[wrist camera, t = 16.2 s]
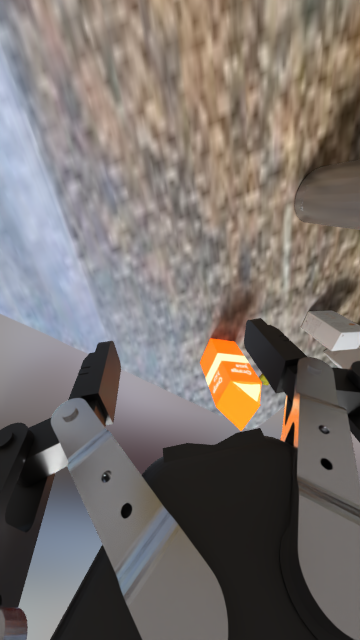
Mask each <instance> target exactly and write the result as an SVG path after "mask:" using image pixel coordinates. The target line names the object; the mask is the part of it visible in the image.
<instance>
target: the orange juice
mask: <svg viewBox="0 0 360 640" xmlns="http://www.w3.org/2000/svg"><path fill="white" fill-rule="evenodd" d="M200 364H201V366H202V369H203V372H204V375H205V377H206V381H207V384H208V386H209V388H210V391H211V394H212V397H213V399H214V402H215V405H216V407H217V408H218V409H219V410H220V411H221V412H222V413H223V414H224V415H225V416H226V417H227V418H228V419H229V420H230V421H231V422H232V423H233V424H234V425H235V426H236V427H237V428H239V430H242V429H243V428H244V427H245V426H246V424H247V423H248V421H249V420H250V419H251V417H252V416H253V415H254V413H255V412H256V411H257V409H258V408H259V406H260V394H261V383H262V382H261V381H260V379H259V378H258V376H257V375H256V373H255V372H254V370H253V369H252V367H251V366H250V364H249V362H248V361H247V359H246V358H245V356H244V355H243V354H242V352H241V351H240V349H239V348H238V346H237V345H236V343H235V342H233V341H226V340H219V339H212V338H210V340H209V343H208V345H207V347H206V350H205V352H204V354H203V356H202V359H201V361H200Z"/></svg>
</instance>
